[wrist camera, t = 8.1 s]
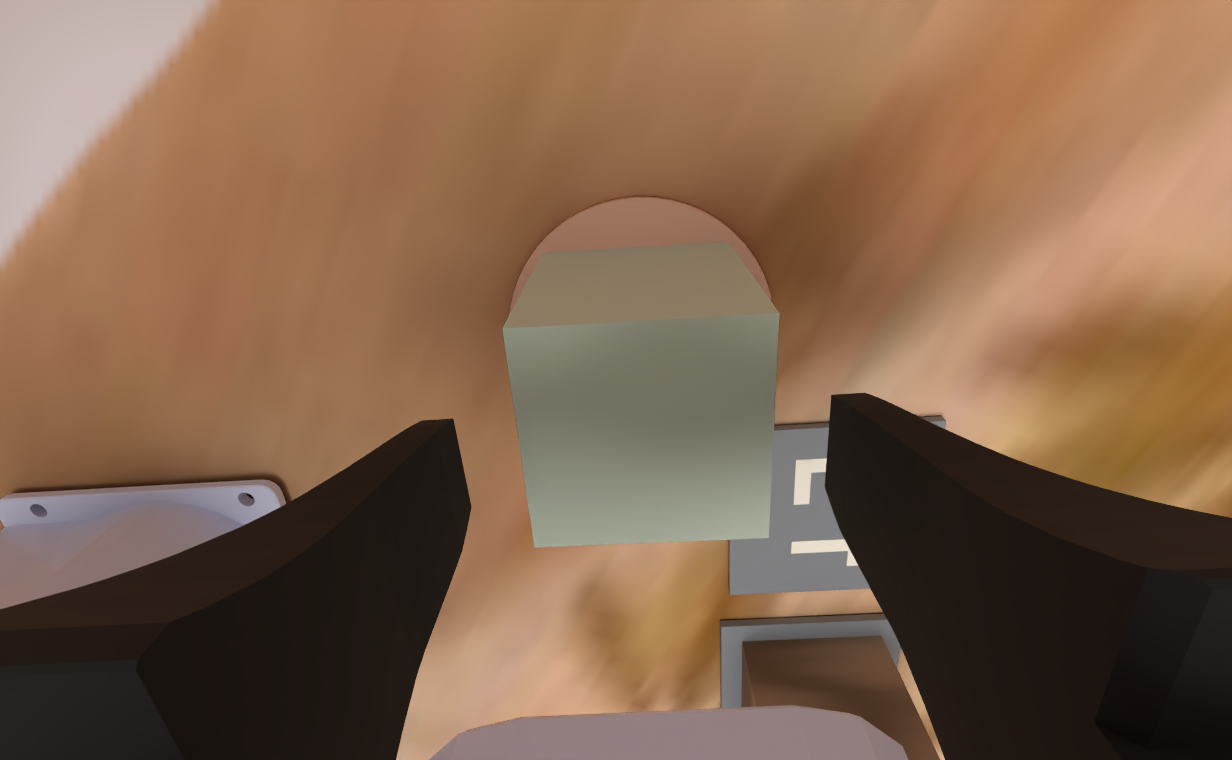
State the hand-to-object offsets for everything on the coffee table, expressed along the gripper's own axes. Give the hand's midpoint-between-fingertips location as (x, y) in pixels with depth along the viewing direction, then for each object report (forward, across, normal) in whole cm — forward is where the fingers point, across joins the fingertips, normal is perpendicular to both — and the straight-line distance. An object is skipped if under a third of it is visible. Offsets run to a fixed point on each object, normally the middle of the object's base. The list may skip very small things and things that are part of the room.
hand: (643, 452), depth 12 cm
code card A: (+7, -6, +7) cm, 11 cm away
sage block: (+6, 0, 0) cm, 6 cm away
